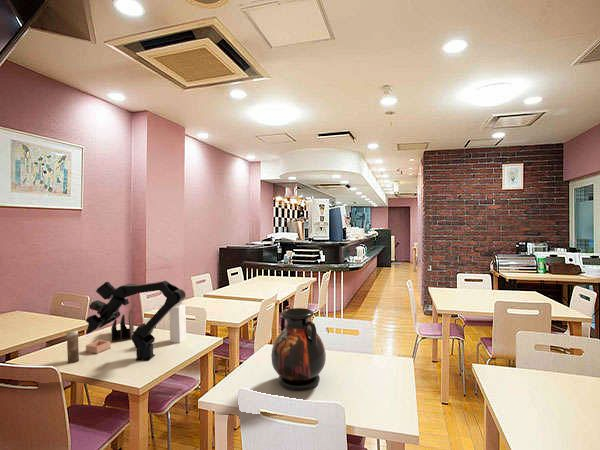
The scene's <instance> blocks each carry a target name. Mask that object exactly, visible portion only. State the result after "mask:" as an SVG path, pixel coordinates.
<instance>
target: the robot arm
mask: <svg viewBox="0 0 600 450" xmlns="http://www.w3.org/2000/svg"><path fill="white" fill-rule="evenodd" d="M157 291H160V292H161V293H162V295H163V296H164V297H165V298H166V299H165V301H164V304H163V305H162V306H161V307H160V308H159V309H158V311H157V312H155V314H154V315H153V316H152V317H151V318H150V319H149V320H148V321H147V323H142V324H140V325H139V326H137V328H136V329H134V331H133V335H132V337H131V338H132V339H131V341H132V343H133V345H134V347H135V348H134V349H135V351H136V359H135V361H143V362H144V361H146V362H147V361H148V362H149V361H150V360H151V359H153V358H154V357H155V356H156V354H155V353H154V345H153V343H154V342H155V340H156V339H155V337H154V336H153V331H154V329H155V327H156V326H157V325H158V324H160V322H161V321H162V320H163V319H164V317H166V316H167V314H168V313H169V311H170V310H171V309H172V308H173V307H174V306H176V305H177V304H178V303H180V302H181V301H182V302H183V301H184V300H185V298H186V292H185V290H183V289H182V288H179V287H177V286H176V285H173V284H171V283H170V282H169V281H167V280H162V281H156V282H148V283H142V284H137V283H126V284H123V285H121V286H118V287H117V288H116V287H114V286H113V285H112V284H111V283H110V282H109V281H105V282H104V283H103V284H102V285H100V286H99V287H98V288H97V289H96V290H95V292H96V293H97V294H98V295H99V296H100V297H101V299H104V301H105V300H108V302H107V303H106V302H104V301H102V300H94V301H92V302H91V303H90V304H89V305H88V306H89V309H90V310H92V311H96V313H97V314H98V315H99V317H98V315H97V314H91V315H89V316H87V317H86V319H85V322H86V323H87V324H88V326H87V329H86V332H85V334H87V335H88V334H89V335H90V333H92V332H94V331H95V330H97V329H100V328H103V327H105V326H106V325H108V324H110V323H112V322H114V320H115V319H116V320H117V319H119V317H120V316H121V312H120V308H121V307H122V306H124V307H125V306H127V305H129V304H130V302H129V298H128V297H131V296H134V295H137V294H142V293H148V292H149V293H150V292H157Z"/></svg>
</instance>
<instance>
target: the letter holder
mask: <svg viewBox="0 0 600 450" xmlns="http://www.w3.org/2000/svg"><path fill="white" fill-rule="evenodd" d="M133 312H134V311H133V308H130V310H129V314H128V325H129V328H127V326H126V323H125V322H126V318H125V317H126V315H125V314H122V315H121V318H120V321H119V323H120V324H119V327H120V328H119V329H117V319H115V320H114V321H112V322H113V323H112V326H111V333H110V335H111V337H110V339H111V341H110V343H119V342H126V341H132V338H131V337H132V335H133V332H134V331H135V327H134V314H133Z"/></svg>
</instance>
